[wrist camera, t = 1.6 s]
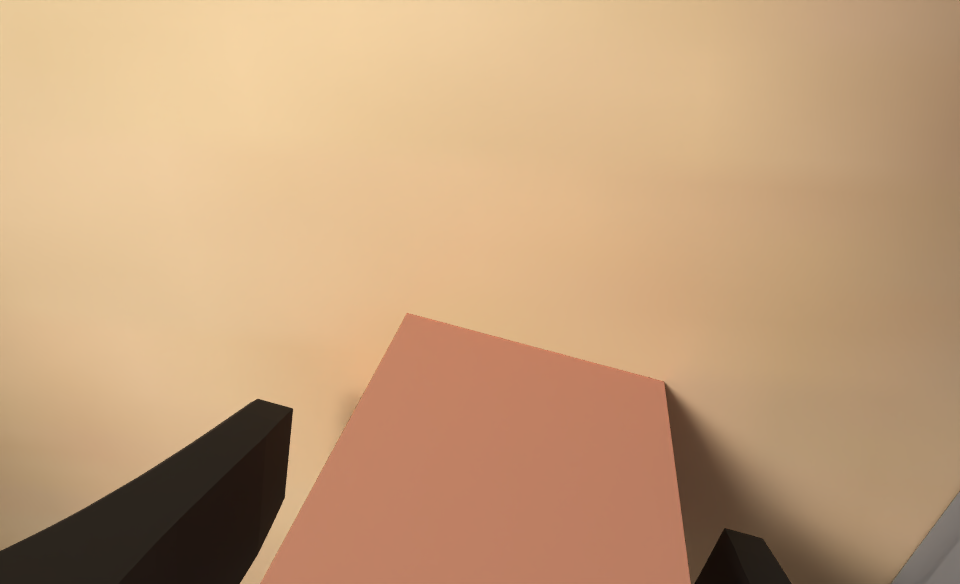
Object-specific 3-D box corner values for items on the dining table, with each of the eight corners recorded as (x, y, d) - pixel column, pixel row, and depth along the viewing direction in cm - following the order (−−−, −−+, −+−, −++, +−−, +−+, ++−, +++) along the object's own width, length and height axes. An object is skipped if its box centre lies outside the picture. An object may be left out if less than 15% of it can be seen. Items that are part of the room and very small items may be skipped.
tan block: (589, 559, 14) (578, 949, 8) (373, 498, 14) (230, 839, 9) (663, 380, 11) (712, 750, 6) (407, 312, 12) (244, 613, 6)
